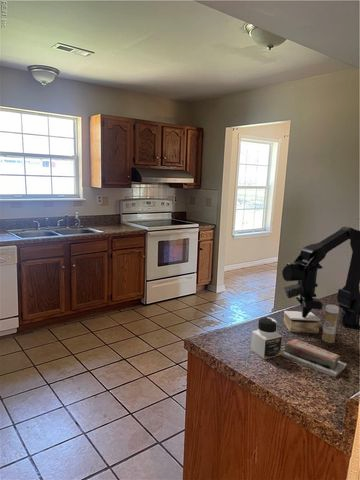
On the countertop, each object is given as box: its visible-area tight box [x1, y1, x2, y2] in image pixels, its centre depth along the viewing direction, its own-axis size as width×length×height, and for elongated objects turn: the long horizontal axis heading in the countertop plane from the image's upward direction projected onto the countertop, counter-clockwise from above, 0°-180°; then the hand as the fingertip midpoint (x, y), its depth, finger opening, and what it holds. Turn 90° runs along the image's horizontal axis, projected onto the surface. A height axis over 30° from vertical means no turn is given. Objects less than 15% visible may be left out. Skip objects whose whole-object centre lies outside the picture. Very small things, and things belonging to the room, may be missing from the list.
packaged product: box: [281, 338, 347, 378], centre depth 113 cm, size 18×5×10 cm
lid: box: [283, 310, 321, 322], centre depth 139 cm, size 11×10×1 cm
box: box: [283, 312, 320, 334], centre depth 139 cm, size 11×10×4 cm
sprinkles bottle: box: [321, 304, 340, 344], centre depth 127 cm, size 5×5×14 cm
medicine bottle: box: [250, 316, 283, 360], centre depth 116 cm, size 7×7×12 cm
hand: (303, 317), depth 135 cm, fingers closed, pressing on lid
